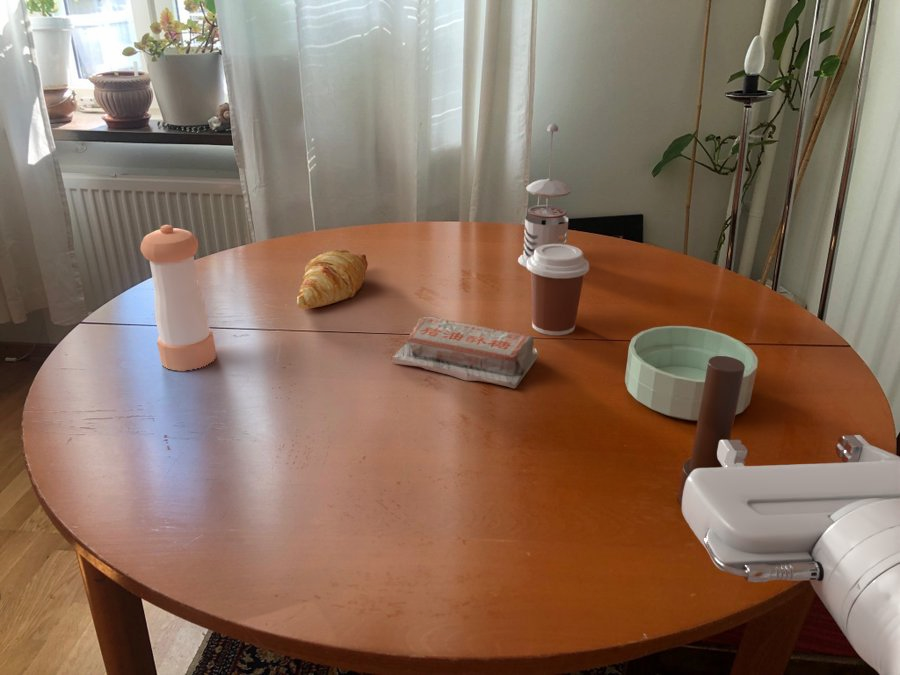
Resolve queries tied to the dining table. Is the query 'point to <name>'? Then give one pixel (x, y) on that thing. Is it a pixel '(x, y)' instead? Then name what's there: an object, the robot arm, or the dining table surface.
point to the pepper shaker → (178, 300)
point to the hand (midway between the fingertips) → (786, 444)
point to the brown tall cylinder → (714, 414)
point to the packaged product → (468, 351)
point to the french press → (545, 214)
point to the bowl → (682, 368)
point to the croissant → (331, 278)
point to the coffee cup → (556, 287)
